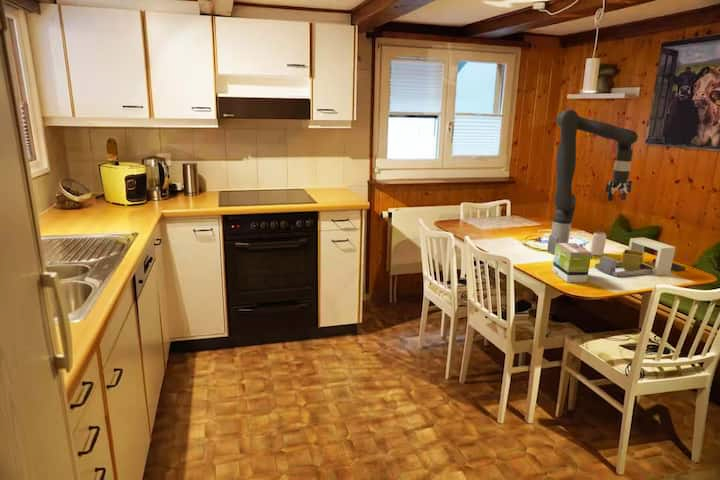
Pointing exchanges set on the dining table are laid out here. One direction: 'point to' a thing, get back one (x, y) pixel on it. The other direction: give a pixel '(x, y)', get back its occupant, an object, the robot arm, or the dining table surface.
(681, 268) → the pit tray
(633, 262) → the flower pot
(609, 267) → the sled
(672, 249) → the tunnel
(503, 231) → the dining table surface
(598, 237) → the can
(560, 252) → the tea box
